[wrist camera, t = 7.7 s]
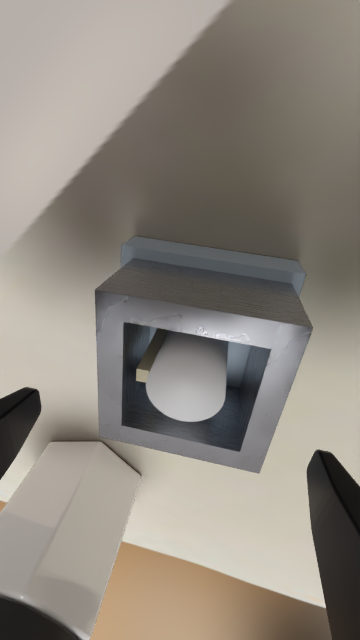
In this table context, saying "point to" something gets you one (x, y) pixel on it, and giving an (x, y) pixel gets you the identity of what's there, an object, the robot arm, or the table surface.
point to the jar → (62, 541)
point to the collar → (209, 321)
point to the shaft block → (193, 350)
